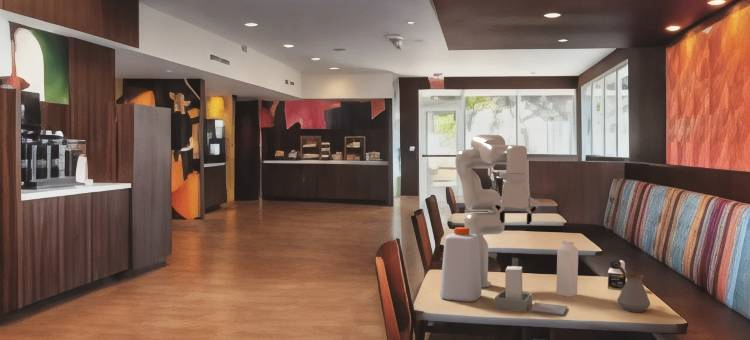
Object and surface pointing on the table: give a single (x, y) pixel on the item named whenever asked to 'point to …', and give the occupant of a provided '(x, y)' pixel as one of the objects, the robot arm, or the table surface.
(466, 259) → the plastic bottle
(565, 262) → the milk
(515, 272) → the skincare box
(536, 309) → the pad
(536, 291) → the table surface
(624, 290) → the coffee pot
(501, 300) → the bin
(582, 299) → the table surface
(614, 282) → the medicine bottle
